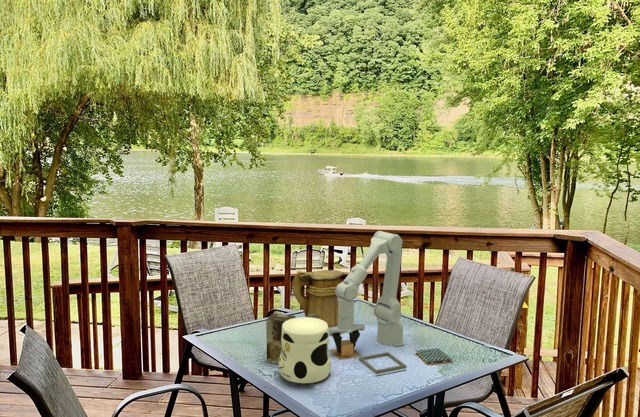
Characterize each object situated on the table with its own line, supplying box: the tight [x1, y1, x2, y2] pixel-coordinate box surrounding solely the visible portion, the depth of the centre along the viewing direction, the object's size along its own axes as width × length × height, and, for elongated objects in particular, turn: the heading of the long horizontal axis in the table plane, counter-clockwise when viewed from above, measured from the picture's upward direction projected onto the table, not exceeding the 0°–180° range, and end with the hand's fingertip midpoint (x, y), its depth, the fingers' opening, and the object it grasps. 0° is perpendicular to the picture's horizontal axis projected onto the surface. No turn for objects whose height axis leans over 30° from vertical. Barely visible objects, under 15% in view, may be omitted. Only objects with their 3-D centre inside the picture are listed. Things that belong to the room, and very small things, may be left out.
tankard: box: [291, 269, 345, 337], centre depth 211 cm, size 18×24×25 cm
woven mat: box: [414, 347, 453, 366], centre depth 186 cm, size 10×11×2 cm
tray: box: [358, 351, 407, 377], centre depth 179 cm, size 12×12×2 cm
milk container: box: [278, 316, 332, 386], centre depth 169 cm, size 17×17×18 cm
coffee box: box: [265, 313, 297, 365], centre depth 182 cm, size 9×6×16 cm
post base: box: [328, 348, 362, 361], centre depth 187 cm, size 9×9×4 cm
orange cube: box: [339, 339, 353, 356], centre depth 187 cm, size 4×4×4 cm
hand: (345, 351), depth 187 cm, fingers closed on orange cube, 4 cm apart
